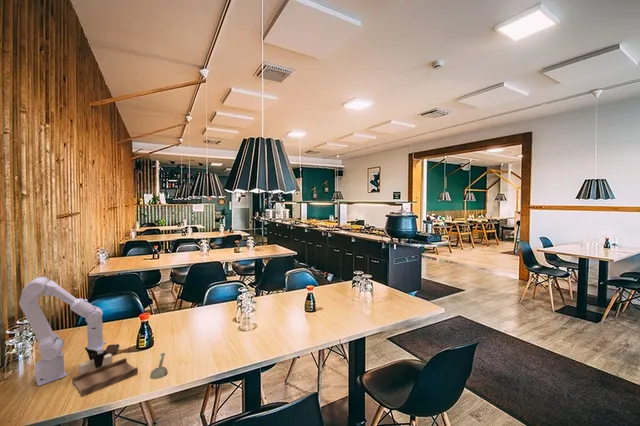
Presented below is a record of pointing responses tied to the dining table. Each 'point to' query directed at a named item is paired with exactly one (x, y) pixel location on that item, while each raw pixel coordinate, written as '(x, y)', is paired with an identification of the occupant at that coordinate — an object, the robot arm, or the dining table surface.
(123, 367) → the tray
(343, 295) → the dining table surface
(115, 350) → the ice cream bar
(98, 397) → the dining table surface
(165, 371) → the soupspoon
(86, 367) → the clay bar
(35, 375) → the robot arm
